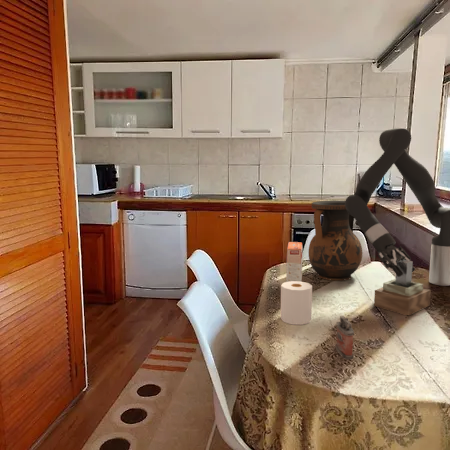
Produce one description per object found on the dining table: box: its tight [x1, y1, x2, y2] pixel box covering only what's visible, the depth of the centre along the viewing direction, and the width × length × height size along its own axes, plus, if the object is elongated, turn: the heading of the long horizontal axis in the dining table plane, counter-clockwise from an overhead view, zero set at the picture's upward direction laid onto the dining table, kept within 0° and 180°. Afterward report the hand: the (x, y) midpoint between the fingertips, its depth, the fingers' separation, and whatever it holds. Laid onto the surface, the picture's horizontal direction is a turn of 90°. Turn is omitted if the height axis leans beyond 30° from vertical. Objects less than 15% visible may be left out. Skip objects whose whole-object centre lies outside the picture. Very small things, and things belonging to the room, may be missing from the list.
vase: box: [307, 199, 363, 282], centre depth 187 cm, size 24×24×35 cm
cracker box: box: [285, 241, 303, 282], centre depth 160 cm, size 14×6×21 cm, turn 168°
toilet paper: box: [280, 281, 313, 326], centre depth 137 cm, size 10×10×12 cm
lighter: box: [335, 315, 355, 360], centre depth 113 cm, size 8×3×10 cm, turn 5°
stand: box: [373, 278, 432, 316], centre depth 149 cm, size 16×13×8 cm
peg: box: [395, 259, 414, 288], centre depth 148 cm, size 4×4×11 cm
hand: (407, 273), depth 147 cm, fingers open, 8 cm apart
